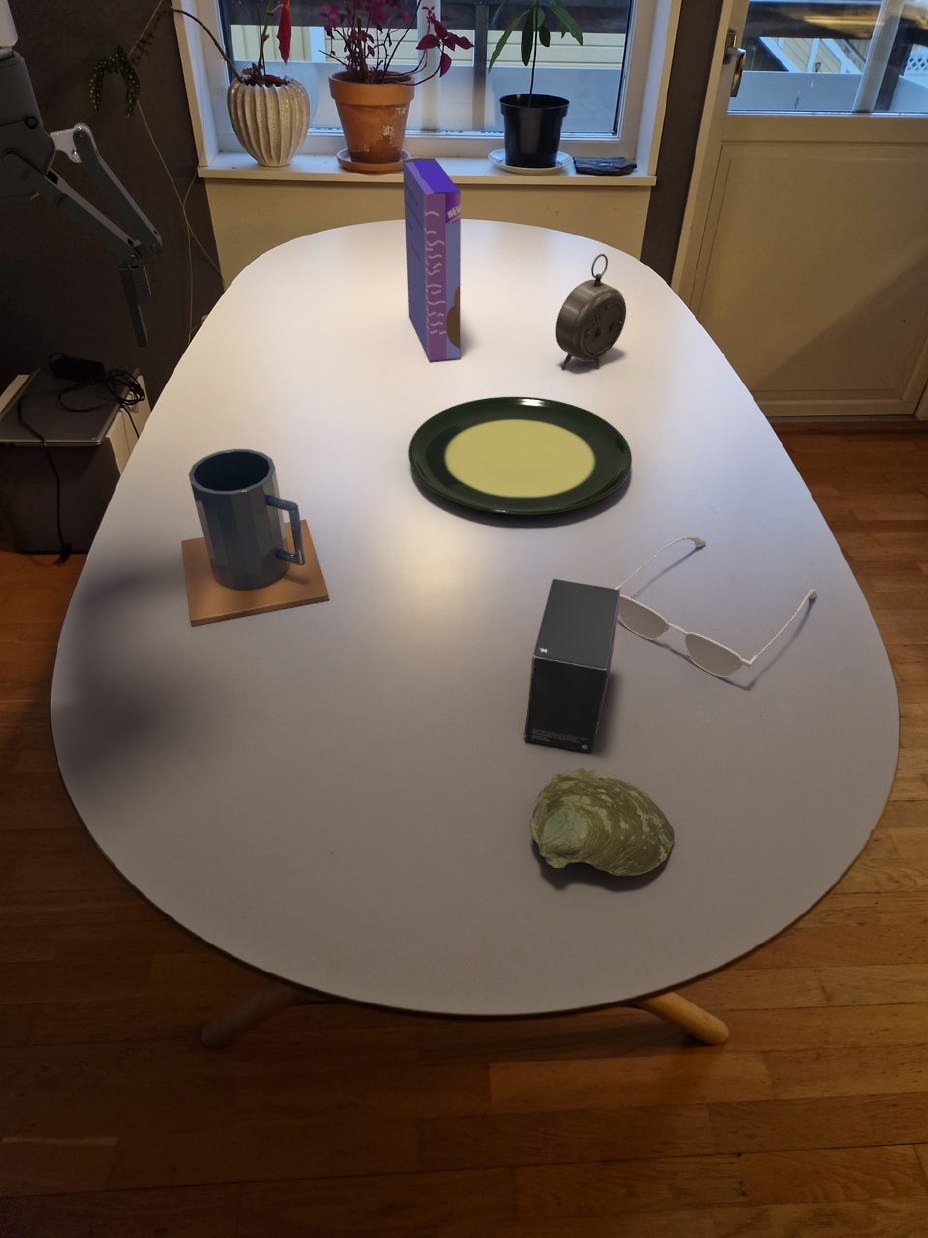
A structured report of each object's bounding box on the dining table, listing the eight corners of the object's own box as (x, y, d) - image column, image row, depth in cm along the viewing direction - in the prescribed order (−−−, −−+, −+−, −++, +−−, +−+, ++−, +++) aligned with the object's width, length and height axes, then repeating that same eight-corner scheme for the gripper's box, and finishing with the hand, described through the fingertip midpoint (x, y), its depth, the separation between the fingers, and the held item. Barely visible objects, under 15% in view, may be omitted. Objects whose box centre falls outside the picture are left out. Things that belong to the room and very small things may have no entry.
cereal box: (460, 359, 132) (460, 190, 116) (429, 362, 131) (426, 192, 115) (436, 314, 145) (434, 156, 128) (408, 316, 144) (402, 158, 128)
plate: (659, 441, 114) (662, 424, 112) (581, 556, 95) (583, 538, 94) (470, 394, 123) (470, 378, 122) (367, 490, 105) (365, 472, 103)
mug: (196, 577, 91) (171, 481, 83) (242, 535, 97) (223, 441, 89) (287, 607, 88) (269, 509, 80) (329, 562, 93) (317, 466, 85)
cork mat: (191, 626, 87) (189, 620, 86) (182, 546, 96) (180, 540, 96) (329, 600, 90) (328, 594, 89) (306, 524, 100) (305, 519, 99)
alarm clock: (601, 348, 135) (613, 240, 124) (626, 360, 132) (641, 251, 121) (550, 367, 130) (558, 257, 119) (575, 380, 127) (586, 268, 116)
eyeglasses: (604, 618, 88) (609, 588, 85) (695, 539, 98) (701, 510, 95) (741, 692, 80) (751, 661, 78) (824, 598, 90) (835, 568, 88)
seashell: (698, 819, 68) (645, 806, 60) (659, 904, 68) (601, 902, 60) (595, 763, 74) (535, 745, 66) (559, 841, 74) (495, 831, 66)
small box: (595, 756, 74) (610, 671, 67) (521, 742, 76) (528, 657, 69) (609, 671, 82) (623, 587, 75) (541, 660, 83) (549, 575, 76)
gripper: (150, 35, 64) (206, 316, 78) (-232, 51, 58) (-97, 350, 72) (154, 53, 58) (214, 350, 73) (-266, 72, 53) (-113, 390, 67)
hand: (59, 351), depth 73 cm, fingers open, 13 cm apart
